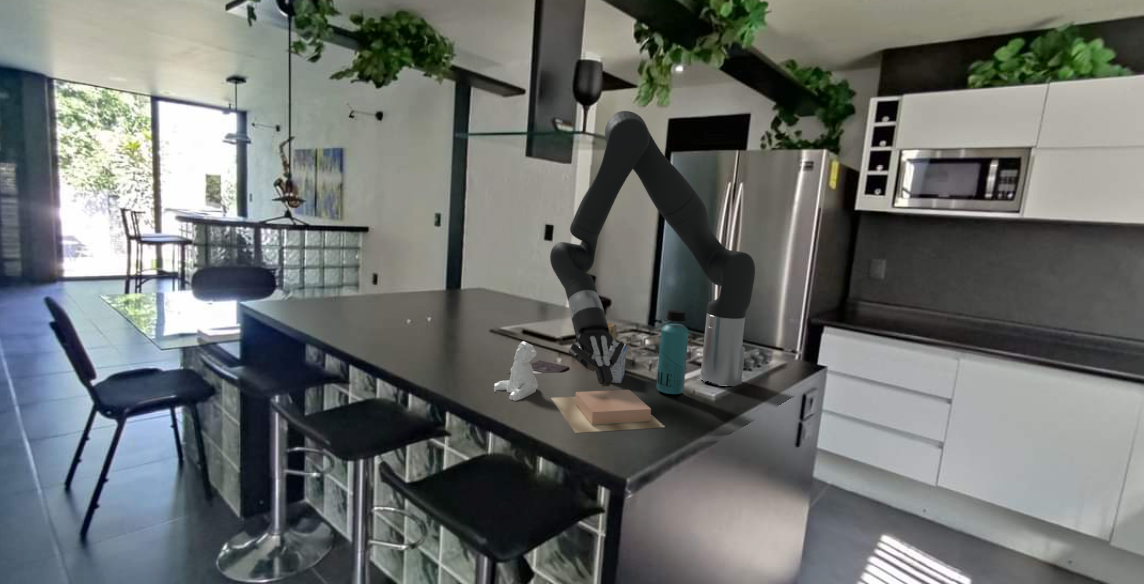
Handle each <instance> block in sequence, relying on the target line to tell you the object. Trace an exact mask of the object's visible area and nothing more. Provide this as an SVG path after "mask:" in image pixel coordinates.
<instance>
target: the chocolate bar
mask: <svg viewBox="0 0 1144 584" xmlns="http://www.w3.org/2000/svg"><path fill="white" fill-rule="evenodd" d="M530 364H531V366H532V369H533V373H534V374H556V373H558V374H559V373H561V374H562V373H563V372H566V371H568V370H570V366H568V365H567V366H566V365H564V364H558V363H553V362H549V361H545V360H544V361H543V360H540V359H539V360H537V361H535V362H532V363H530ZM508 375H511V372H508Z"/></svg>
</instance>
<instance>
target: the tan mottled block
mask: <svg viewBox="0 0 1144 584" xmlns="http://www.w3.org/2000/svg"><path fill="white" fill-rule="evenodd" d="M607 324H608V327H609V333H610V334H611V336H612V337H613V340H614V341H616V342H617V339H616V338H617V324H615V323H611V322H609V323H608V322H607Z"/></svg>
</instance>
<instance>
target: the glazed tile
mask: <svg viewBox="0 0 1144 584" xmlns="http://www.w3.org/2000/svg"><path fill="white" fill-rule="evenodd" d="M574 397H575V404H576V405H577V406H578V408H579V409H580V410H581V411H582V413H583V414H584V415H585V416H586V418H587V419H588V420H589V421H590V423H591V424H593V425H597V424H613V423H629V422H645V421H650V415H652V414H651V413H652V408H651V407H650V406H649V405H647V404H646V403H645V402H644V401H643V400H642V399H640V397H638V396H637V395H636V394H635V393H633V391H631V390H630V389H617V390H615V389H614V390H612V389H611V390H593V391H592V390H591V391H576V392H575V395H574Z"/></svg>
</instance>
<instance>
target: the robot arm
mask: <svg viewBox="0 0 1144 584" xmlns="http://www.w3.org/2000/svg"><path fill="white" fill-rule="evenodd" d="M604 138H605V142H606V143H605V144H606V145H605V149H604V152H603V156H602V157H603V158H602V161H601V162H600V163H601V164H600V167H599V168H598V172H597V173H596V176H595V178H594V180H593V181H592V183H591V184H590V186H589V188H588V189H587V191H586V192H585V193H584V195H583V196H582V199H581V201H580V203H579V206H578V207H577V211H576V212H575V215H574V216H573V219H572V221H571V223H570V227H569V231H570V234H571V235H572V236H573V237H574V238H576V239H577V240H579V241H581V242H580V244H575V243H570V242H567V241H566V242H564V241H560V242H558V243H556V244H555V245H554V246H553V247H552V248H551V251H550V256H549V259H550V264H551V267H552V270H553V272H554V274H555V275H556V277H557V279H558V281H559V282H560V283H561V285H562V287H563V288H564V290H565V294H566V299H567V302H568V310H569V315H570V318H571V322H572V327H573V330H574V334H575V343H573V344H572V345H570V347H569V350H568V354H570V355H571V356H572V357H573V359H575V360H576V361H577V362H578V363H579V364H580V365H582V367H583V368H585V369H586V370H590V369H591V370H593V371H594V372H595V375H596V378H597V383H598V384H599V385H601V387H602V388H603V387H610V386H611V385H612V383H613V382H612V381H613V377H612V373H611V370H610V368H612V367H613V366H614V364H615V363H616V362H617V360H618V357H619V355H620V353H621V351H622V349H623V347H624V344H625V343H624V342H622V341H620V342H618V341H617V340H616V341H614V340H613V337H612V336H611V334H610V333H609V327H608V324H607V323H608V320H607V318H606V314H605V309H604V307H603V303H602V301H601V299H600V297H599V294H598V291H597V287H596V285H595V281H594V279H593V277H592V275H591V274H589V273H588V272H589V271H590V270H591V269H592V267H593V266H594V263H595V257H596V249H597V245H598V239H599V236H600V233H601V231H602V229H603V227H604V226H605V223H606V221H607V219H608V217H609V214H610V212H611V210H612V207H613V206H614V203H615V201H616V199H617V198H618V195H619V193H620V191H621V189H622V187H623V186H624V184H625V182H626V181H627V178H628V177H629V175H630V174H631V173H632V171H634V173H635V174H636V175H637V177H638V178H639V180H640V182H641V183H642V186H643V187H644V189H645V191H646V193H647V195H648V196H649V198H650V200H651V202H652V203H653V205H654V207H655V208H656V209H657V211H658V212H659V214H660V215H661V216H662V217H663V219H664V221H666V223H667V224H668V225H669V226H670V227H671V229H672V230H673V231H674V232H675V234H677V237H679V238H680V240H681V241H682V242H683V243H684V245H685V246H686V247H687V248H688V250H689V251H690V252H691V254H692V256H693V257H694V259H695V260H696V262H697V263H698V265H699V267H700V269H701V270H702V272H703V273H704V275H705V276H706V278H707V279H708V280H709V282H710V283H713V284H714V285H715V286H719V287H720V291H719V295H718V297H717V298H716V299H713V300H711V301H709V302H708V303H707V308H706V309H707V310H706V318H705V329H704V336H703V337H704V339H703V348H702V358H701V365H700V366H701V367H700V376H701V378H702V379H703V380H704V381H709V382H712V383H716V384H720V385H727V386H733V387H736V386H738V385H742V380H743V372H744V365H745V364H744V363H745V354H746V348H745V346H743V340H744V329H745V323H746V322H745V320H746V314H747V310H748V309H749V307H750V305H751V301H752V295H753V291H754V290H753V289H754V284H755V278H756V277H755V276H756V265H755V261H754V259H753V257H752V256H751V255H750V254H749V253H746V252H744V251H738V250H733V249H732V250H731V249H727V248H726V247H725V246H724V245H723V244H722V243H721V242H720V241H719V240H718V238H717V237H716V236H715V234H714V233H713V231H712V229H711V226H710V220H709V214H708V211H707V208H706V205H705V203H704V202H703V200H702V199H701V197H700V196H699V195H698V193H697V192H696V190H695V189H694V188H693V187H692V185H691V184H690V183H689V181H688V180H687V179H686V177H684V176H683V174H682V173H681V172H680V171H679V170H678V169H677V168H676V166H674V164H672V163H671V161H670V160H668V158H667V157H666V156H665V155H664V153H663V152H662V151H661V149H660V148H659V147H658V144H657V143H656V141H655V140H654V138H653V136H652V135H651V133H650V131H649V128H648V127H647V123H646V122H645V120H644V119H643V118H642V117H641V116H640V114H639V115H638V114H637V113H635V112H633V111H629V110H621V111H617V112H615V113H614V114H613V115H611V116H610V117H609V119H608V121H607V122H606V125H605V130H604ZM611 346H612V352H613V354H612V356H611V358H610V360H609V352H608V351H609V349H610V347H611Z"/></svg>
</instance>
